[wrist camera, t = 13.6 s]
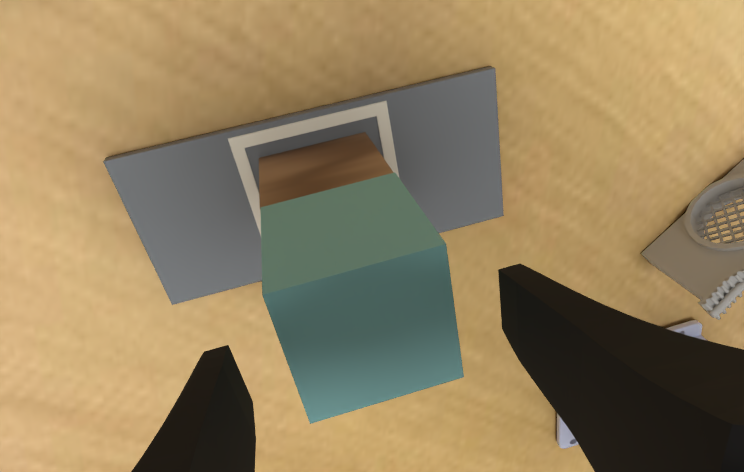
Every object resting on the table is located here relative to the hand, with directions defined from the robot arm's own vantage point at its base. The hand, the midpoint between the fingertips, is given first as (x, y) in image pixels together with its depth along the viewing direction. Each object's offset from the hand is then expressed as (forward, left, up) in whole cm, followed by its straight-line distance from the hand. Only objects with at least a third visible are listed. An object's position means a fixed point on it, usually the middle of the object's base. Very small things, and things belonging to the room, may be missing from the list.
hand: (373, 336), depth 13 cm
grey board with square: (0, 0, -10) cm, 10 cm away
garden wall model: (-21, +6, -11) cm, 24 cm away
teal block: (0, 0, -5) cm, 5 cm away
